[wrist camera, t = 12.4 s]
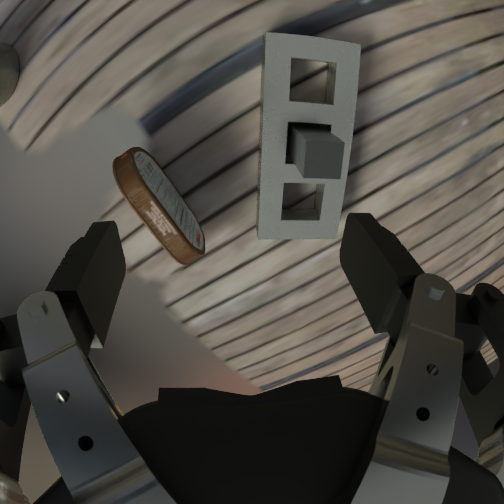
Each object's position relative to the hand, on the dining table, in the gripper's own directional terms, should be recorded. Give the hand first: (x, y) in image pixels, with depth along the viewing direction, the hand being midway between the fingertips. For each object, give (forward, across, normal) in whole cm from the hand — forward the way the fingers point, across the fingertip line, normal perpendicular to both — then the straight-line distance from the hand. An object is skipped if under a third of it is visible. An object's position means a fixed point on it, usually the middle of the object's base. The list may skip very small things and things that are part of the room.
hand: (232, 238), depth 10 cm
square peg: (+26, -9, +3) cm, 27 cm away
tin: (+26, +7, +9) cm, 29 cm away
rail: (+26, -9, +3) cm, 27 cm away
